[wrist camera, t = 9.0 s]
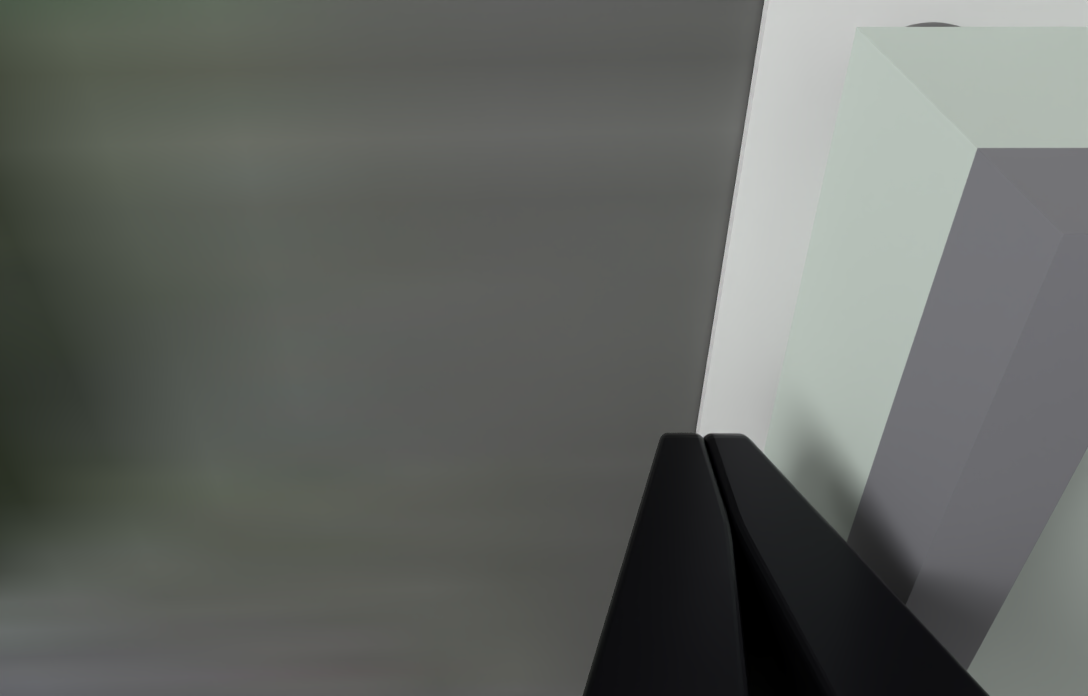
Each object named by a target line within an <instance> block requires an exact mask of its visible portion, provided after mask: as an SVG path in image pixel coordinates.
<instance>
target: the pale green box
mask: <svg viewBox="0 0 1088 696" xmlns="http://www.w3.org/2000/svg"><path fill="white" fill-rule="evenodd" d="M764 454H765V455H766V456H767V457H768V459H769V460H770V461H771V462H772V463H773V464H774V465H775V466H776V467H777V468H778V469H779V470H780V471H781V472H782V474H783V475H784V476H785V477H786V478H787V479H788V480H789V481H790V482H791V483H792V484H793V485H794V486H795V487H796V489H797V490H798V491H799V492H800V493H801V494H802V495H803V496H804V497H805V498H806V499H807V500H808V501H809V502H810V504H811V505H812V506H813V507H814V508H815V509H816V510H817V511H818V512H819V513H820V514H821V515H822V516H823V517H824V519H825V520H826V521H827V522H828V523H829V524H830V525H831V526H832V527H833V528H834V529H835V530H836V531H837V532H838V534H839V535H840V536H841V537H842V538H843V539H844V540H845V541H846V542H847V543H848V544H849V545H850V546H851V547H852V549H853V550H854V551H855V552H856V553H857V554H858V555H859V556H860V557H861V558H862V559H863V560H864V561H865V562H866V564H867V565H868V566H869V567H870V568H871V569H872V570H873V571H874V572H875V573H876V574H877V575H878V576H879V577H880V579H881V580H882V581H883V582H884V583H885V584H886V585H887V586H888V587H889V588H890V589H891V590H892V591H893V592H894V594H895V595H896V596H897V597H898V598H899V599H900V600H901V601H902V602H903V603H904V604H905V605H906V606H907V607H908V609H909V610H910V611H911V612H912V613H913V614H914V615H915V616H916V617H917V618H918V619H919V620H920V621H921V622H922V624H923V625H924V626H925V627H926V628H927V629H928V630H929V631H930V632H931V633H932V634H933V635H934V636H935V637H936V639H937V640H938V641H939V642H940V643H941V644H942V645H943V646H944V647H945V648H946V649H947V650H948V651H949V652H950V654H951V655H952V656H953V657H954V658H955V659H956V660H957V661H958V662H959V663H960V664H961V665H962V666H963V667H964V669H965V670H966V671H967V672H968V673H969V674H970V675H971V676H972V677H973V678H974V679H975V680H976V681H977V682H978V684H979V685H980V686H981V687H982V688H983V689H984V690H985V691H986V692H987V693H988V694H989V695H990V696H1088V27H960V26H957V25H953V24H948V23H941V22H927V23H918V24H913V25H909V26H906V27H856V32H855V36H854V41H853V45H852V50H851V55H850V59H849V64H848V68H847V73H846V77H845V82H844V87H843V91H842V96H841V100H840V105H839V110H838V114H837V119H836V123H835V128H834V132H833V137H832V142H831V146H830V151H829V155H828V160H827V164H826V169H825V174H824V178H823V183H822V187H821V192H820V196H819V201H818V206H817V210H816V215H815V219H814V224H813V228H812V233H811V238H810V242H809V247H808V251H807V256H806V261H805V265H804V270H803V274H802V279H801V283H800V288H799V293H798V297H797V302H796V306H795V311H794V315H793V320H792V325H791V329H790V334H789V338H788V343H787V347H786V352H785V357H784V361H783V366H782V370H781V375H780V379H779V384H778V389H777V393H776V398H775V402H774V407H773V412H772V416H771V421H770V425H769V430H768V434H767V439H766V444H765V448H764Z"/></svg>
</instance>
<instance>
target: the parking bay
mask: <svg viewBox="0 0 1088 696" xmlns="http://www.w3.org/2000/svg"><path fill="white" fill-rule="evenodd" d="M927 22H941V23H948V24H953V25H957V26H960V27H1088V0H765V1H764V7H763V13H762V20H761V26H760V32H759V39H758V45H757V51H756V57H755V64H754V70H753V76H752V83H751V89H750V95H749V101H748V108H747V114H746V120H745V127H744V133H743V139H742V146H741V152H740V158H739V164H738V171H737V177H736V183H735V190H734V196H733V202H732V208H731V215H730V221H729V227H728V234H727V240H726V246H725V253H724V259H723V265H722V271H721V278H720V284H719V290H718V297H717V303H716V309H715V315H714V322H713V328H712V334H711V341H710V347H709V353H708V359H707V366H706V372H705V378H704V385H703V391H702V397H701V404H700V410H699V416H698V422H697V429H696V433H698V434H699V435H701V436H702V437H704V436H706V435H707V434H709V433H740V434H744V435H746V436H747V437H749V438H750V439H751V440H752V441H753V442H754V444H755V445H756V446H757V447H758V448H759V449H760V450H761V451H762V452H763V453H764V448H765V444H766V439H767V434H768V430H769V425H770V421H771V416H772V412H773V407H774V402H775V398H776V393H777V389H778V384H779V379H780V375H781V370H782V366H783V361H784V357H785V352H786V347H787V343H788V338H789V334H790V329H791V325H792V320H793V315H794V311H795V306H796V302H797V297H798V293H799V288H800V283H801V279H802V274H803V270H804V265H805V261H806V256H807V251H808V247H809V242H810V238H811V233H812V228H813V224H814V219H815V215H816V210H817V206H818V201H819V196H820V192H821V187H822V183H823V178H824V174H825V169H826V164H827V160H828V155H829V151H830V146H831V142H832V137H833V132H834V128H835V123H836V119H837V114H838V110H839V105H840V100H841V96H842V91H843V87H844V82H845V77H846V73H847V68H848V64H849V59H850V55H851V50H852V45H853V41H854V36H855V32H856V27H906V26H909V25H913V24H918V23H927Z"/></svg>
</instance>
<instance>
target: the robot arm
mask: <svg viewBox="0 0 1088 696" xmlns="http://www.w3.org/2000/svg"><path fill="white" fill-rule="evenodd" d="M583 696H990V695H989V694H988V693H987V692H986V691H985V690H984V689H983V688H982V687H981V686H980V685H979V684H978V682H977V681H976V680H975V679H974V678H973V677H972V676H971V675H970V674H969V673H968V672H967V671H966V670H965V669H964V667H963V666H962V665H961V664H960V663H959V662H958V661H957V660H956V659H955V658H954V657H953V656H952V655H951V654H950V652H949V651H948V650H947V649H946V648H945V647H944V646H943V645H942V644H941V643H940V642H939V641H938V640H937V639H936V637H935V636H934V635H933V634H932V633H931V632H930V631H929V630H928V629H927V628H926V627H925V626H924V625H923V624H922V622H921V621H920V620H919V619H918V618H917V617H916V616H915V615H914V614H913V613H912V612H911V611H910V610H909V609H908V607H907V606H906V605H905V604H904V603H903V602H902V601H901V600H900V599H899V598H898V597H897V596H896V595H895V594H894V592H893V591H892V590H891V589H890V588H889V587H888V586H887V585H886V584H885V583H884V582H883V581H882V580H881V579H880V577H879V576H878V575H877V574H876V573H875V572H874V571H873V570H872V569H871V568H870V567H869V566H868V565H867V564H866V562H865V561H864V560H863V559H862V558H861V557H860V556H859V555H858V554H857V553H856V552H855V551H854V550H853V549H852V547H851V546H850V545H849V544H848V543H847V542H846V541H845V540H844V539H843V538H842V537H841V536H840V535H839V534H838V532H837V531H836V530H835V529H834V528H833V527H832V526H831V525H830V524H829V523H828V522H827V521H826V520H825V519H824V517H823V516H822V515H821V514H820V513H819V512H818V511H817V510H816V509H815V508H814V507H813V506H812V505H811V504H810V502H809V501H808V500H807V499H806V498H805V497H804V496H803V495H802V494H801V493H800V492H799V491H798V490H797V489H796V487H795V486H794V485H793V484H792V483H791V482H790V481H789V480H788V479H787V478H786V477H785V476H784V475H783V474H782V472H781V471H780V470H779V469H778V468H777V467H776V466H775V465H774V464H773V463H772V462H771V461H770V460H769V459H768V457H767V456H766V455H765V454H764V453H763V452H762V451H761V450H760V449H759V448H758V447H757V446H756V445H755V444H754V442H753V441H752V440H751V439H750V438H749V437H747V436H746V435H744V434H740V433H709V434H707V435H706V436H704V437H702V436H701V435H699V434H698V433H665V434H663V435H662V436H661V438H660V440H659V443H658V447H657V450H656V453H655V457H654V460H653V463H652V467H651V470H650V473H649V477H648V480H647V483H646V487H645V490H644V493H643V497H642V500H641V503H640V507H639V510H638V513H637V517H636V520H635V523H634V527H633V530H632V533H631V537H630V540H629V543H628V547H627V550H626V553H625V557H624V560H623V563H622V567H621V570H620V573H619V577H618V580H617V583H616V586H615V590H614V593H613V596H612V600H611V603H610V606H609V610H608V613H607V616H606V620H605V623H604V626H603V630H602V633H601V636H600V640H599V643H598V646H597V650H596V653H595V656H594V660H593V663H592V666H591V670H590V673H589V676H588V680H587V683H586V686H585V690H584V693H583Z"/></svg>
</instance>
